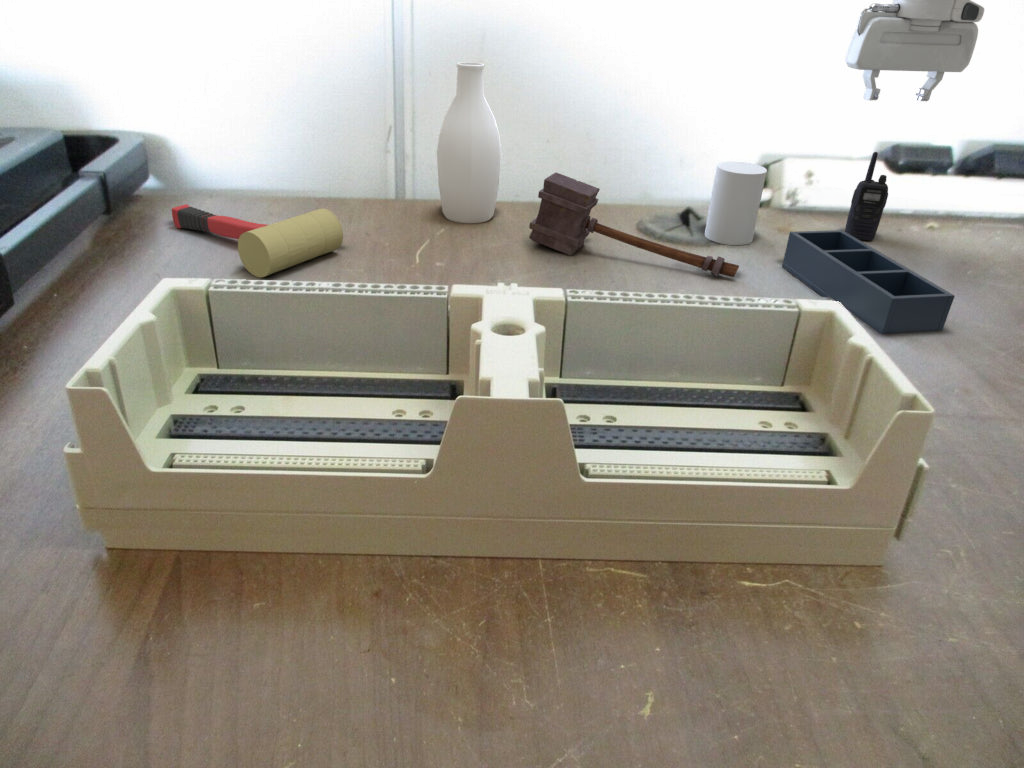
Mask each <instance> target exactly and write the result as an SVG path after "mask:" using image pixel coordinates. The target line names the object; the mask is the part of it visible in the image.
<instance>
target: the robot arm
mask: <svg viewBox="0 0 1024 768" xmlns="http://www.w3.org/2000/svg"><path fill="white" fill-rule="evenodd" d="M984 14H985V7H984V6H982V5H980V4H978V3H976V2H975V1H972V0H892V3H885V4H883V3H871V4H870V5H869V6H867V7H865V8H864V9H863V10H862V11H860V13H859V16H858V19H857V23H856V28H855V30H854V32H853V35H852V38H851V40H850V43H849V45H848V49H847V51H846V55H845V62H846V65H847V67H849V68H851V69H855V70H859V71H863V72H862V78H863V83H864V87H865V90H864V93H863V99H864V100H866V101H878V100H879V97H880V96H879V95H880V93H881V88H877V84H876V79H877V78H879V76H880V73H881V71H893V72H894V71H895V72H896V71H897V72H900V71H902V72H927V73H926V77H927V78H928V79H927V80H925V82H924V84H923V85H922V87H921V88H920V87H917V88H916V91H915V94H914V100H915V101H917V102H929V100H930V98H931V96H932V92H933V91H934V90H935V88H936V87H937V86H938V85H939V84H940V83H941V81H943V78H944V75H945V73H962V72H963V71H964V70H965V69H966V68H967V67H968V66H969V65H970V63H971V60H972V57H973V54H974V51H975V48H976V44H977V41H978V35H979V27H978V25H977V23H978V22H980V21H982V19H983V17H984Z"/></svg>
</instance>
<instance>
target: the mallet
mask: <svg viewBox="0 0 1024 768" xmlns="http://www.w3.org/2000/svg"><path fill="white" fill-rule="evenodd" d="M171 217H172V221H173V225H174V226H175V228H178V229H186V230H192V231H194V230H195V231H201V232H202V231H203V232H208V233H212V234H215V235H218V236H221V237H224V238H229V239H234V240H237V252H238V255H239V259H240V261H241V262H242V264H243V267H245V269H246V270H247V271H248V272H249V273H250V274H251V275H252V276H254V277H257V278H265V277H267V276H270V275H273V274H275V273H278V272H280V271H283V270H286V269H289V268H291V267H294V266H297V265H299V264H301V263H304V262H307V261H310V260H313V259H316V258H318V257H319V256H323V255H326V254H328V253H331V252H334V251H337V250H338V249H339V248H341V246H342V244H343V241H344V232H343V227H342V225H341V222H340V219H338V217H337V216H336V215H335V214H334V212H332V211H331V210H329V209H327V208H323V207H322V208H318V209H315V210H312V211H309V212H305V213H303V214H300V215H296V216H293V217H289V218H287V219H284V220H279V221H277V222H274V223H271V224H267V223H266V224H265V223H256V222H251V221H246V220H243V219H239V218H236V217H232V216H226V215H218V214H213V213H211V212H209V211H205V210H202V209H199V208H196V207H194V206H191V205H189V204H188V203H185V204H182V205H178V206H174V207H172V208H171Z"/></svg>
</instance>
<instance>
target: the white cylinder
mask: <svg viewBox="0 0 1024 768" xmlns="http://www.w3.org/2000/svg"><path fill="white" fill-rule="evenodd" d="M767 173H768V169H767V168H766V167H764V166H762V165H759V164H757V163H751V162H744V161H721V162H718V163H717V164H716V166H715V172H714V177H713V184H712V189H711V190H712V191H711V195H710V201H709V207H708V212H707V218H706V224H705V230H704V237H705V238H706V239H707V240H709V241H712V242H713V243H718V244H722V245H726V246H746V245H749V244H751V243H752V242H753V240H754V235H755V231H756V224H757V221H758V216H759V211H760V205H761V201H762V196H763V193H764V187H765V182H766V177H767Z"/></svg>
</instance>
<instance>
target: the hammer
mask: <svg viewBox="0 0 1024 768" xmlns="http://www.w3.org/2000/svg"><path fill="white" fill-rule="evenodd" d="M600 190H601V189H600V187H597V186H593V185H591V184H589V183H586V182H584V181H581V180H577V179H575V178H572V177H570V176H567V175H564V174H562V173H559V172H554V173H552V174H550V175H549V176H547V177H546V178H544V180H543V188H542V189H540V190H538V193H537V194H538V195H537V196H538V197H537V198H539V199H541V200H540V204H539V208H538V213H537V216H536V217H535V218H534V219H532V220H531V221H530V222H529V225H528V229H530V230H531V232H530V234H529V237H528V239H530V240H531V241H533V242H535V243H538V244H541V245H543V246H545V247H547V248H550V249H553V250H555V251H558V252H560V253H563V254H565V255H567V256H569V257H570V256H572V255H573V254H575V253H576V252H577V251H578V250H579V249H580V248H581V247H582V246H584V245H585V239H587V238H588V237H589V235H590V234H594V233H597V234H600V235H602V236H605V237H608V238H611V239H613V240H615V241H618V242H620V243H624V244H627V245H629V246H632V247H635V248H638V249H640V250H644V251H647V252H650V253H653V254H656V255H658V256H662V257H665V258H667V259H671V260H674V261H676V262H681V263H682V264H683V263H684V264H686V265H689V266H693V267H696V268H699V269H701V270H702V271H704V272H708V271H709V272H710V274H712V275H713V276H714V277H716V278H718V276H719V274H720V275H724V276H727V277H731V278H735V276H736V275H737V272H738V270H739V268H740V265H738V264H736V263H731V262H727V261H725V258H724V257H722V256H720V255H719V256H717V257H716V259H714V257H713V256H711V255H707V256H703V255H699V254H697V253H692V252H688V251H685V250H681V249H678V248H674V247H671V246H667V245H664V244H661V243H658V242H654V241H651V240H648V239H645V238H642V237H639V236H635V235H634V234H633V235H632V234H630V233H626V232H623V231H621V230H618V229H616V228H613V227H609V226H606V225H604V224H601V223H598V222H599V219H597V218H595V217H591V211H592V209H593V208H594V207H596V206H597V205H598V203H599V198H597V197H598V194H599V192H600Z"/></svg>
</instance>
